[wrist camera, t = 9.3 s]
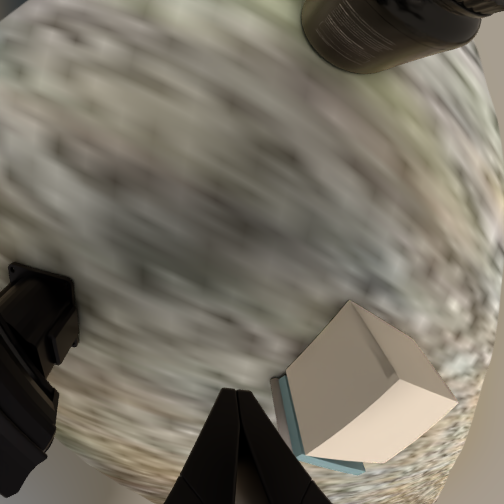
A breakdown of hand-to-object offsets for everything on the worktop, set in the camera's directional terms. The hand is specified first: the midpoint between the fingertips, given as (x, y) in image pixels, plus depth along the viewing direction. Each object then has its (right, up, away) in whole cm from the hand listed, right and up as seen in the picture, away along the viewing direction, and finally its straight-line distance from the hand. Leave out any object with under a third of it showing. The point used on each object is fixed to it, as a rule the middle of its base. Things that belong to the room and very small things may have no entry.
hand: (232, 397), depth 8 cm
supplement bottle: (+7, +18, +6) cm, 21 cm away
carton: (+9, -5, +16) cm, 19 cm away
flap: (+6, -9, +17) cm, 20 cm away
